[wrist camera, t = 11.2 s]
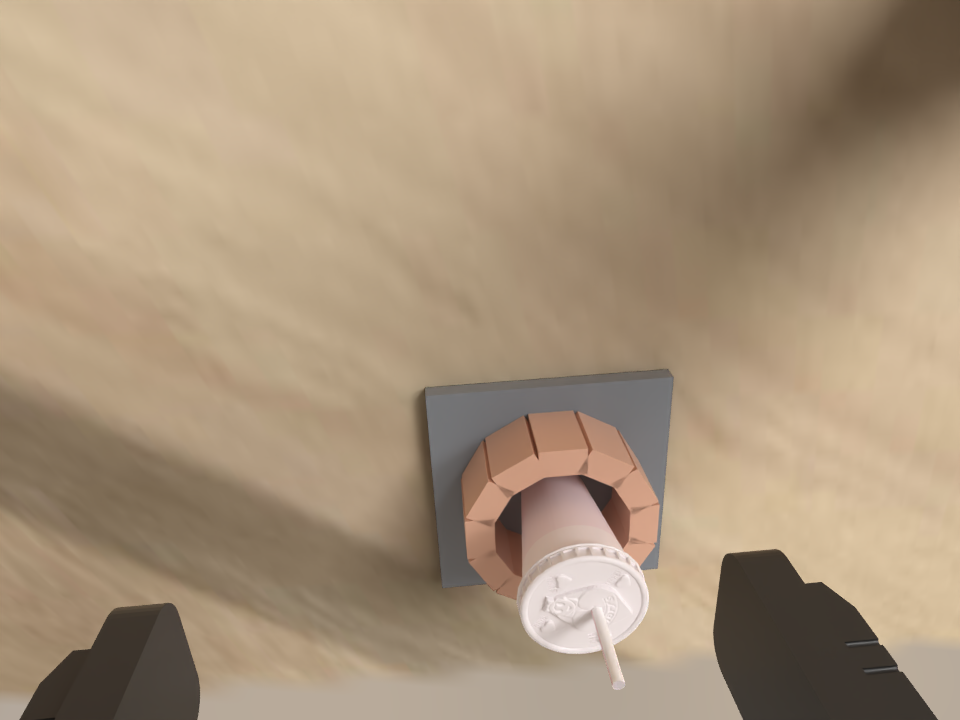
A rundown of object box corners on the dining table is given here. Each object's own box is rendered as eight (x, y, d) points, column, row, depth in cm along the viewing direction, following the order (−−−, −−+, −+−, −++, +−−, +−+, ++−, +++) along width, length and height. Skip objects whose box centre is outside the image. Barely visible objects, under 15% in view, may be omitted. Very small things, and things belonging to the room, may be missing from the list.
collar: (668, 369, 41) (698, 412, 37) (653, 558, 47) (677, 615, 43) (425, 387, 41) (426, 434, 36) (441, 577, 47) (444, 636, 42)
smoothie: (588, 535, 45) (655, 739, 32) (488, 524, 44) (517, 730, 31) (616, 450, 42) (700, 635, 30) (510, 436, 41) (551, 621, 29)
